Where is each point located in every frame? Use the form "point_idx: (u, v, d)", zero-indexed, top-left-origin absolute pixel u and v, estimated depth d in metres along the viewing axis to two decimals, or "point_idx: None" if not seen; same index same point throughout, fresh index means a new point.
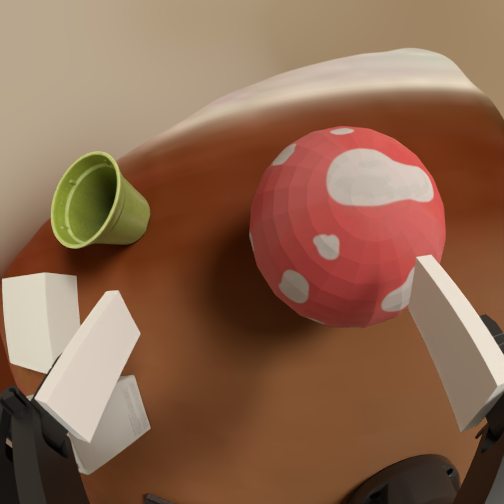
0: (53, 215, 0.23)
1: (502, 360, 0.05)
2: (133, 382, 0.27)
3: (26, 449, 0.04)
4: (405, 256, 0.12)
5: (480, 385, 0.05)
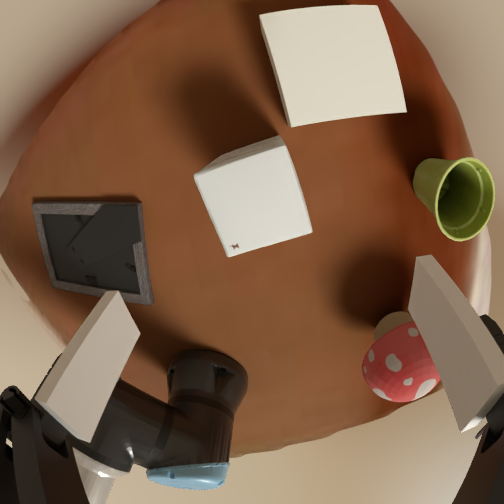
0: (462, 161, 0.21)
1: (502, 360, 0.05)
2: None
3: (26, 449, 0.04)
4: (396, 398, 0.29)
5: (480, 385, 0.05)
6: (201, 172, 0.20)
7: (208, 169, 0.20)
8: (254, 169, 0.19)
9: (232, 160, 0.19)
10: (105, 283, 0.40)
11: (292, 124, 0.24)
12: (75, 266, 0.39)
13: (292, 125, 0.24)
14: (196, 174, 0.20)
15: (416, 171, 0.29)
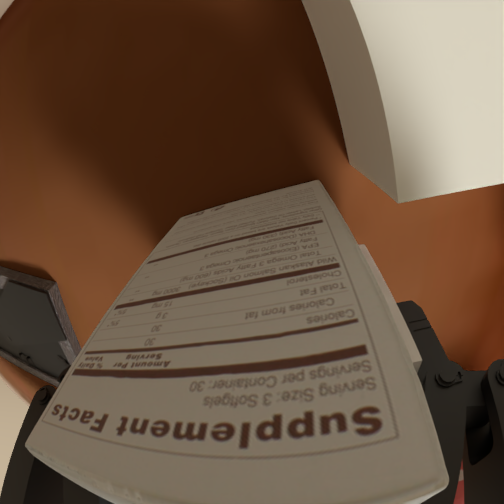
0: None
1: (409, 342, 0.06)
2: None
3: None
4: None
5: None
6: (39, 455, 0.03)
7: (54, 461, 0.03)
8: None
9: (130, 483, 0.02)
10: (42, 367, 0.23)
11: (401, 194, 0.07)
12: (6, 339, 0.22)
13: (401, 198, 0.07)
14: (30, 451, 0.03)
15: None
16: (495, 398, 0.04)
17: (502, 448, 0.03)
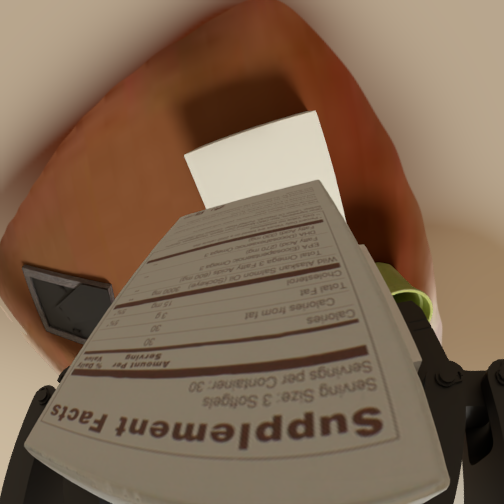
0: (394, 294, 0.25)
1: (409, 342, 0.06)
2: None
3: None
4: None
5: None
6: (38, 455, 0.03)
7: (53, 461, 0.03)
8: None
9: (129, 484, 0.02)
10: None
11: None
12: (63, 320, 0.43)
13: None
14: (29, 451, 0.03)
15: None
16: (495, 398, 0.04)
17: (502, 448, 0.03)
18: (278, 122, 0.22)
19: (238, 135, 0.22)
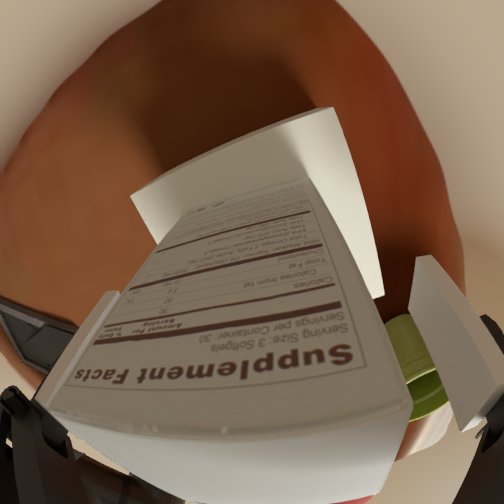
0: (429, 371, 0.17)
1: (502, 360, 0.05)
2: None
3: (26, 449, 0.04)
4: None
5: (480, 385, 0.05)
6: (62, 414, 0.04)
7: (77, 416, 0.04)
8: (244, 464, 0.04)
9: (149, 420, 0.04)
10: None
11: None
12: (37, 355, 0.35)
13: None
14: (53, 413, 0.04)
15: None
16: None
17: None
18: (271, 130, 0.13)
19: (207, 158, 0.14)
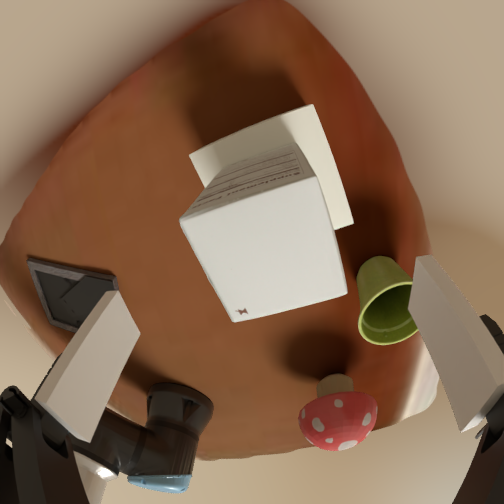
0: (394, 286, 0.26)
1: (502, 360, 0.05)
2: None
3: (26, 449, 0.04)
4: (322, 448, 0.35)
5: (480, 385, 0.05)
6: (190, 216, 0.14)
7: (199, 211, 0.14)
8: (268, 212, 0.13)
9: (235, 198, 0.13)
10: None
11: None
12: (67, 312, 0.44)
13: None
14: (183, 219, 0.14)
15: (360, 270, 0.34)
16: None
17: None
18: (277, 117, 0.22)
19: (240, 132, 0.23)
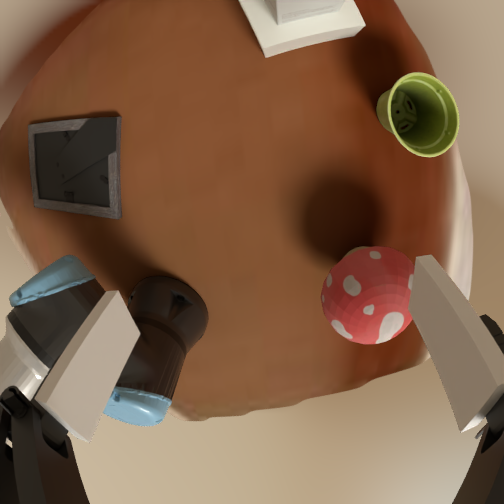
0: (415, 75, 0.20)
1: (502, 360, 0.05)
2: (333, 11, 0.20)
3: (26, 449, 0.04)
4: (357, 334, 0.30)
5: (480, 385, 0.05)
6: None
7: None
8: None
9: None
10: (80, 198, 0.40)
11: (263, 46, 0.23)
12: (56, 182, 0.39)
13: (263, 47, 0.23)
14: None
15: (379, 98, 0.29)
16: None
17: None
18: None
19: None
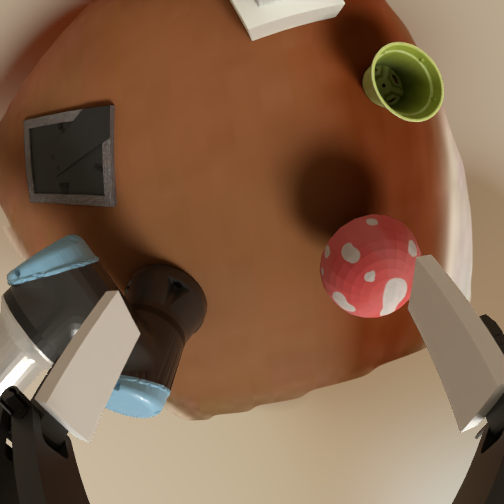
0: (396, 45, 0.20)
1: (502, 360, 0.05)
2: None
3: (26, 449, 0.04)
4: (360, 305, 0.29)
5: (480, 385, 0.05)
6: None
7: None
8: None
9: None
10: (75, 189, 0.39)
11: (248, 27, 0.23)
12: (52, 175, 0.38)
13: (248, 28, 0.23)
14: None
15: (364, 73, 0.28)
16: None
17: None
18: None
19: None
